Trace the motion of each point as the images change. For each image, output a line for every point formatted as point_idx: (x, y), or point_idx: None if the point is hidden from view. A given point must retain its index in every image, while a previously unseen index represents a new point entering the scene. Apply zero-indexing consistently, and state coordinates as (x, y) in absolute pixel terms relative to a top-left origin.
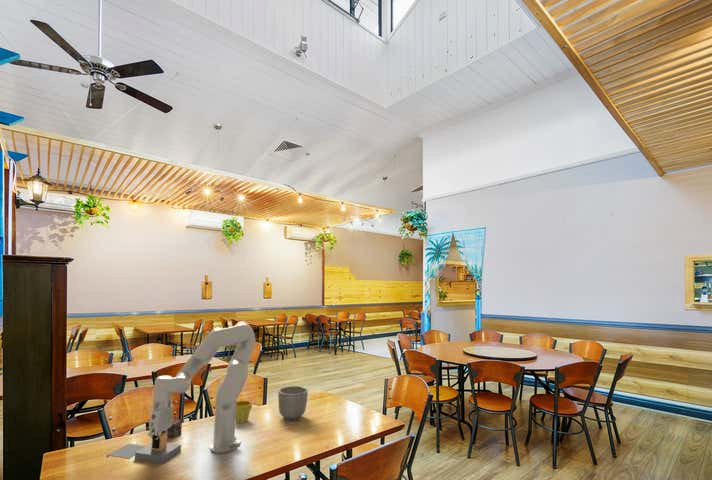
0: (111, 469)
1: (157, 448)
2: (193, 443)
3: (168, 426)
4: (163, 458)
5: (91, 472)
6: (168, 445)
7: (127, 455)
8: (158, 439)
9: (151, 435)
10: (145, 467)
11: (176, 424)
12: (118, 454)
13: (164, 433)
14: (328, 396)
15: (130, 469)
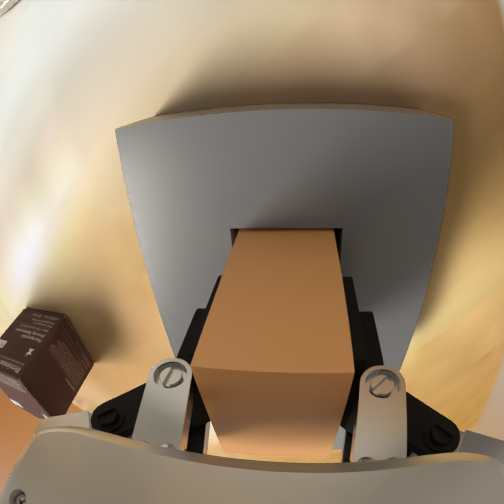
0: (472, 365)
1: (351, 281)
2: (22, 157)
3: (139, 486)
4: (419, 113)
5: (482, 399)
6: (190, 246)
7: None
8: (365, 363)
9: (492, 455)
10: (467, 216)
11: (11, 368)
12: (338, 429)
13: (216, 397)
14: None
15: (487, 289)
